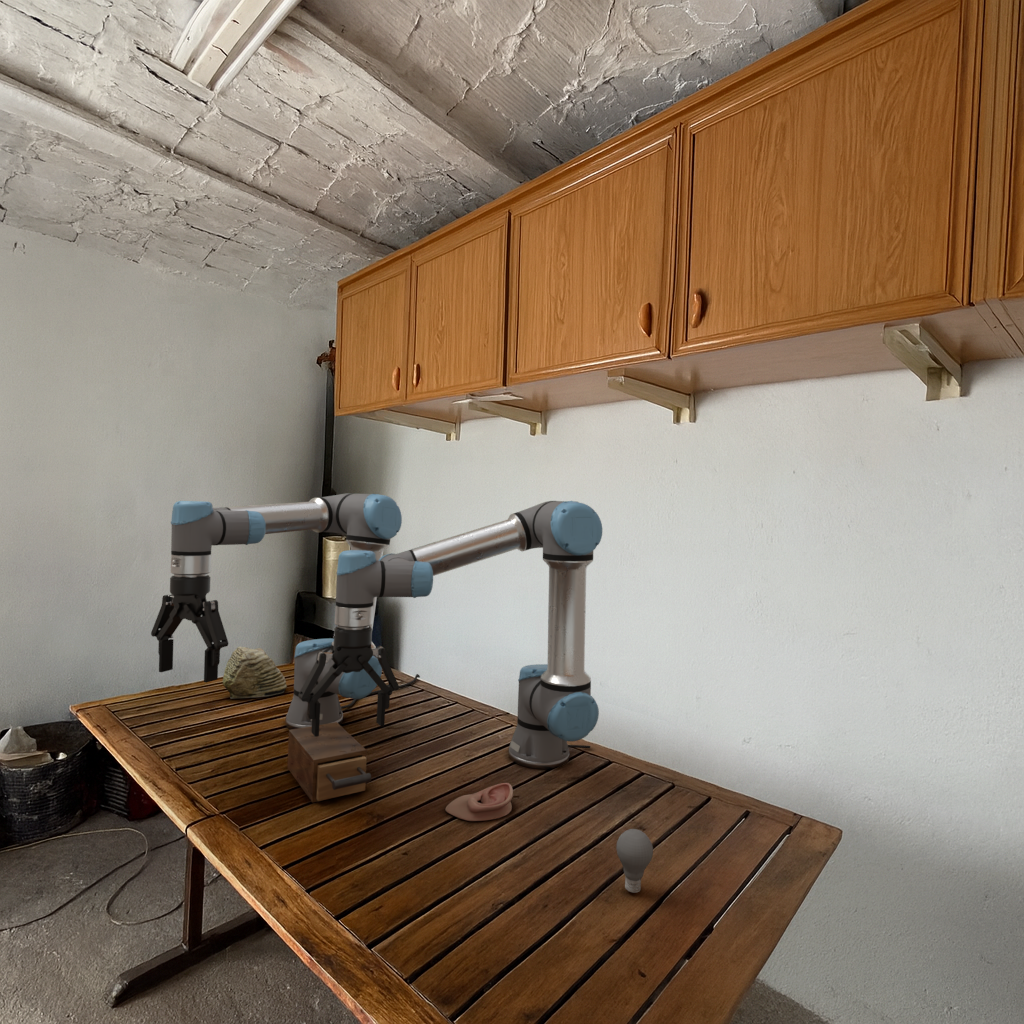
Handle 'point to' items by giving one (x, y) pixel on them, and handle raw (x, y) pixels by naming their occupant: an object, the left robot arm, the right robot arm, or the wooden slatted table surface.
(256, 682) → the fossil
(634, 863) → the light bulb
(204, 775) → the wooden slatted table surface
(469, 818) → the anatomical model
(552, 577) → the right robot arm
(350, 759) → the drawer
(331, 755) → the cabinet
